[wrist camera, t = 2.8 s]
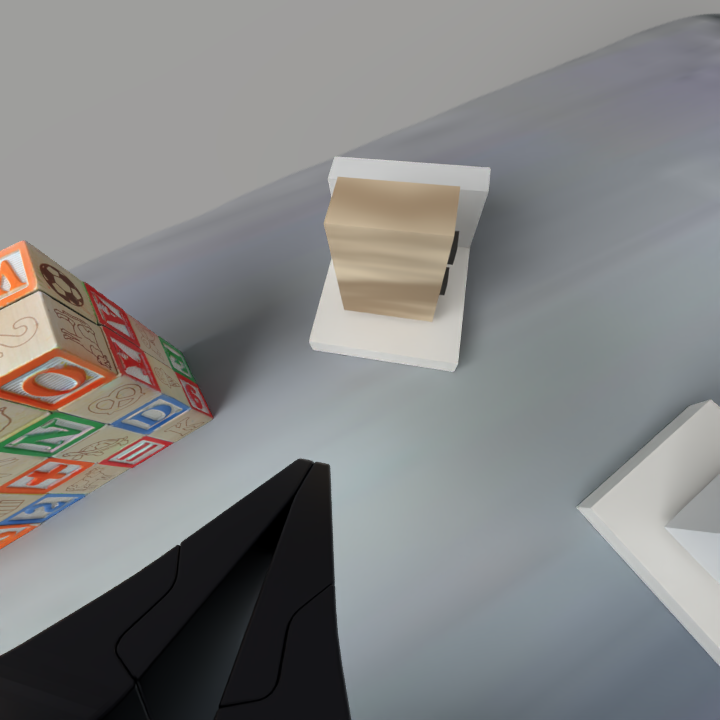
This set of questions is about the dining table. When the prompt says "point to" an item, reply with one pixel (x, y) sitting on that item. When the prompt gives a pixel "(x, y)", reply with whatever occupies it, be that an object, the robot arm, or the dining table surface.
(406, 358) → the white l-shaped holder
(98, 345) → the stack of blocks
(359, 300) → the two dot key
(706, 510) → the one dot key
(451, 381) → the dining table surface
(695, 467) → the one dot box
